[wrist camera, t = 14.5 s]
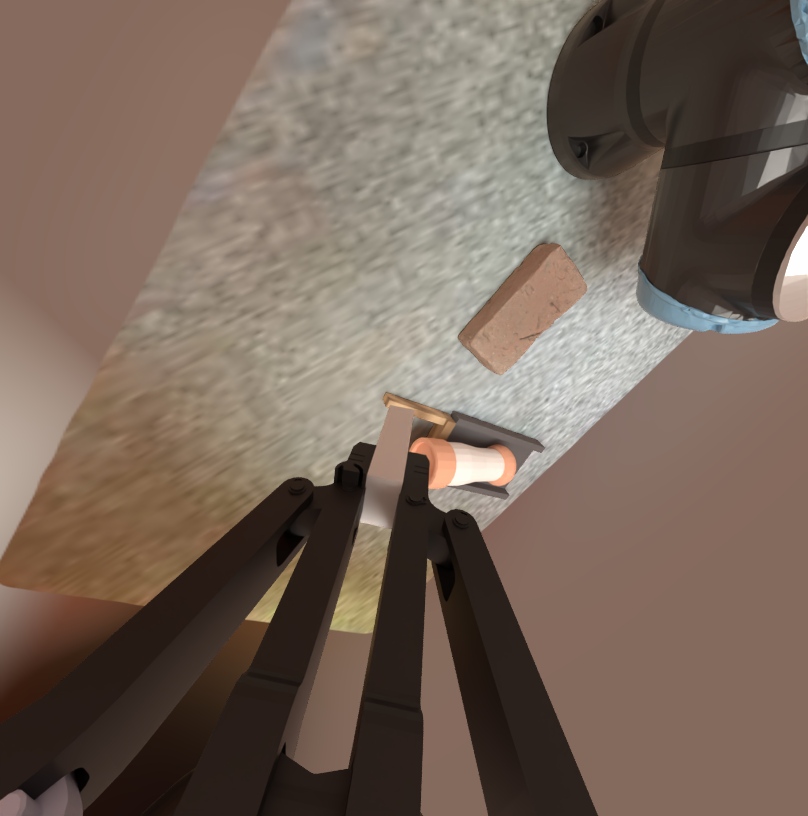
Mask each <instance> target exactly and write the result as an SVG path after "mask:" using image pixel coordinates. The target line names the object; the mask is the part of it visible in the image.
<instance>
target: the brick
mask: <svg viewBox="0 0 808 816" xmlns="http://www.w3.org/2000/svg"><path fill="white" fill-rule="evenodd" d="M586 291H587V286H586V284H585V282H584V281H583V277H582V276H581V274H580V273H579V271H578V269H577V268H576V266H575V264H574V263H573V262H572V261H571V259H570V258H569V257H568V255H567V254H566V253H565V251H564V250H563V249H562V247H561V246H560V245H558V244H554V243H551V244H543V245H542V244H541V245H539V246H537V247H536V248H535V249H533V250H532V252H531V253H530V254H529V255H528V256H527V257H526V258H525V259H524V261H523V263H522V265H521V266H519V267H517V268H516V269H515V270H514V272H513V274H511V275H510V276H509V278H508V279H507V280H506V281H505V282H504V284H502V285H501V287H500V288H499V290H498V291H497V292H496V293H495V294H494V295H493V296H492V298H491V299H490V300H489V301H488V302H487V303H486V305H485V306H484V307H483V308H482V309H481V311H480V312H479V313H478V314H477V315H476V316H475V317H474V318H473V319H472V320H471V321H470V323H469V324H468V325H467V326H466V327H465V329H464V330H463V331H462V332H461V334H460V335H459V337H458V338H459V340H460V342H462V344H463V346H465V347H466V348H467V349H468V350H470V351H471V353H473V354H474V355H475V357H476V358H477V359H478V361H479V362H480V363H482V364H483V365H484V366H485V367H486V368H488V369H489V370H491V371H492V372H494V373H496V374H499V375H502V374H503V373H504V372H506V371H507V370H508V369H509V368H510V367H511V366H512V365H513V364H514V363H515V362H517V361H518V359H519V358H520V357H521V356H522V355H523V354H524V353H525V352H526V351H527V349H528V348H529V347H530V346H531V345H532V344H533V342H534V341H535V339H536V338H538V337H539V336H540V335H541V334H542V332H543V331H545V330H546V329H548V328H549V327H550V326H551V324H553V323H554V320H556V319H558V318H559V317H560V316H561V315H562V314H563V313H565V312H566V311H567V310H568V309H569V308H571V307H572V305H574V304H575V303H576V302H577V301H578V300H579V299H580V298H581V297H582V296H583V295H584V294H585V293H586Z"/></svg>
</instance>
